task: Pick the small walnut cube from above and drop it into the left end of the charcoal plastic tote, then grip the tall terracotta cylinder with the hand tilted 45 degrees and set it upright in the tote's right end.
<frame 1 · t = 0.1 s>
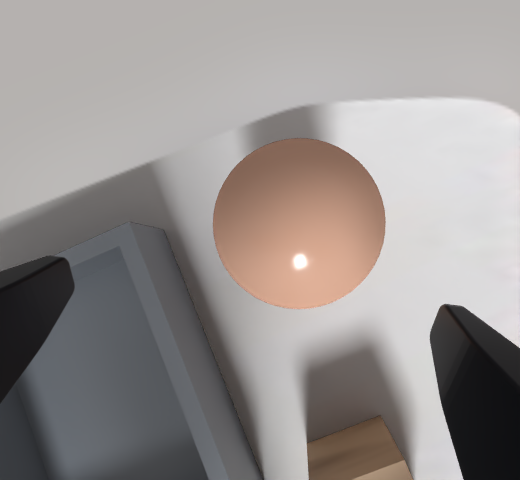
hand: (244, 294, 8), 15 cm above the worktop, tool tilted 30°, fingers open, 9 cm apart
walnut cube: (359, 467, 22), on the worktop
terracotta cylinder: (296, 243, 23), on the worktop
tote: (119, 391, 24), on the worktop
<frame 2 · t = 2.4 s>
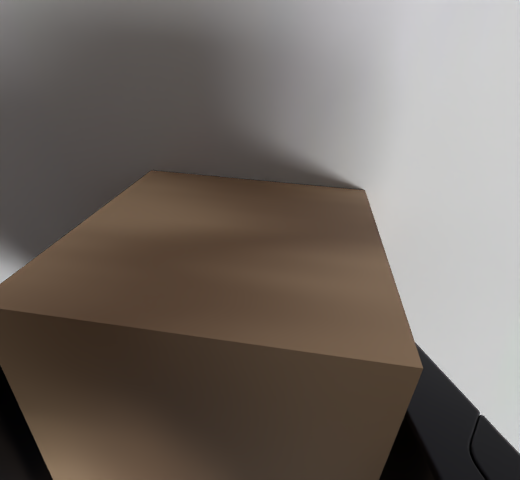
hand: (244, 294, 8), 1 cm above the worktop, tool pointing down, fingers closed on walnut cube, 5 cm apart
walnut cube: (251, 269, 9), on the worktop, touching gripper
when the fingers open (3 cm above the worktop, at t = 6.5 s): walnut cube drops 1 cm, resting on tote.
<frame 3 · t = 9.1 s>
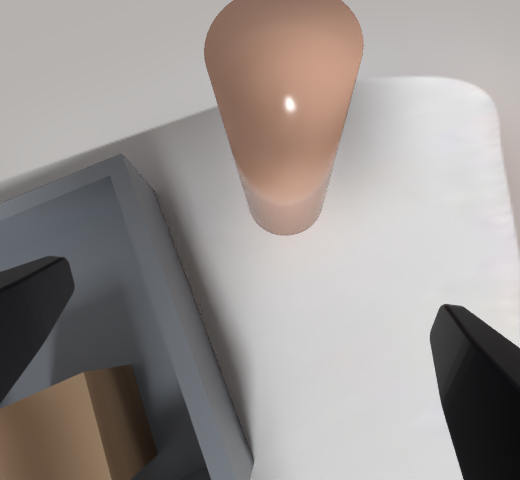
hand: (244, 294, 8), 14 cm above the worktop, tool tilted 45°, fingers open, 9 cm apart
walnut cube: (102, 426, 20), point 1 cm above the worktop, touching tote
terracotta cylinder: (285, 199, 24), on the worktop
tote: (93, 356, 22), on the worktop
when the fingers open (9 cm above the worktop, at t = 16.2 s): terracotta cylinder drops 1 cm, resting on tote.
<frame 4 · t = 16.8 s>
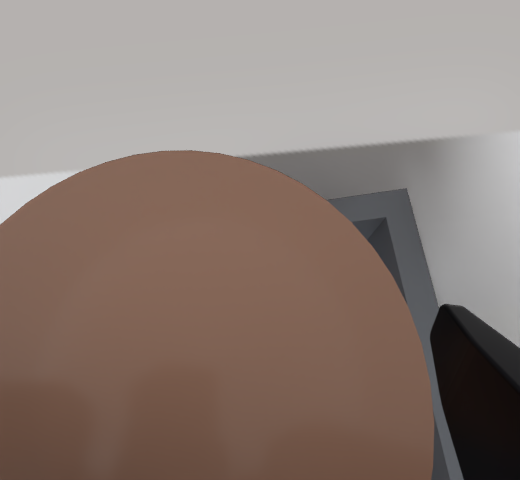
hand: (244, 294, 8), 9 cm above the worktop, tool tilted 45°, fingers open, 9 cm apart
terracotta cylinder: (259, 347, 16), point 1 cm above the worktop, touching tote
tote: (261, 440, 16), on the worktop
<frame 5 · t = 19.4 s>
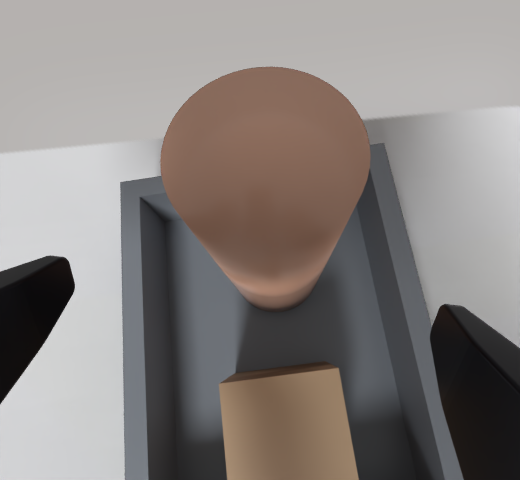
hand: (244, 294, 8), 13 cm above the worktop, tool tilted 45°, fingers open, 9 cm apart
walnut cube: (286, 416, 19), point 1 cm above the worktop, touching tote
terracotta cylinder: (275, 269, 21), point 1 cm above the worktop, touching tote
tote: (276, 339, 21), on the worktop
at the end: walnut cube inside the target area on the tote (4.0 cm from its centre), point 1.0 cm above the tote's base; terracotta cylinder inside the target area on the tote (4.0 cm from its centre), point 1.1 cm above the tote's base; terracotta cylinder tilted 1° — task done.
